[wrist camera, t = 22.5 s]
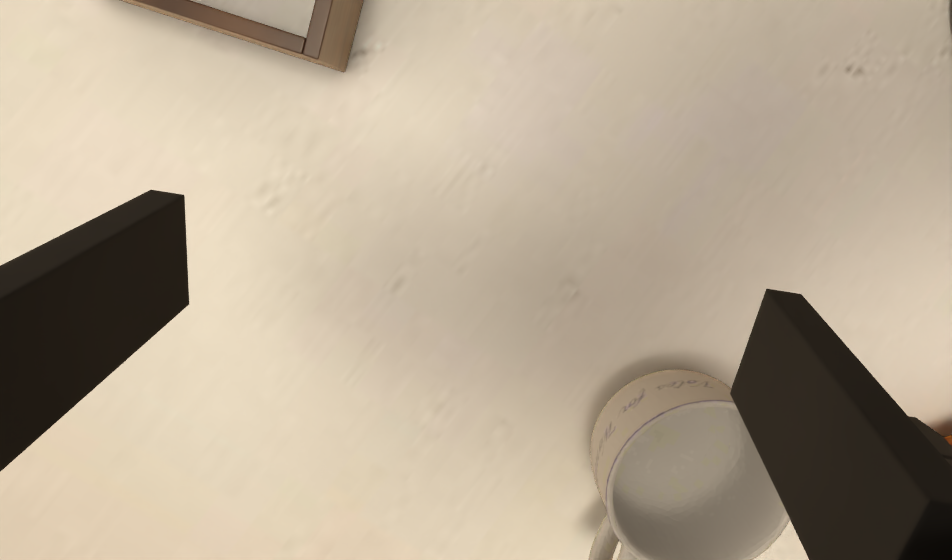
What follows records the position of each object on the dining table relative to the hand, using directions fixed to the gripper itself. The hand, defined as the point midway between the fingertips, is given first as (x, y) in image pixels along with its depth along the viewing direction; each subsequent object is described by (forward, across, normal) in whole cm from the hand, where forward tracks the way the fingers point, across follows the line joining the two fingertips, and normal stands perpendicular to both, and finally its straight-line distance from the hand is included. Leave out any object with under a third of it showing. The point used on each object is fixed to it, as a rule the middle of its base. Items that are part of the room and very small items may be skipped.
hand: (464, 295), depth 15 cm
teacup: (+23, +12, -20) cm, 33 cm away
